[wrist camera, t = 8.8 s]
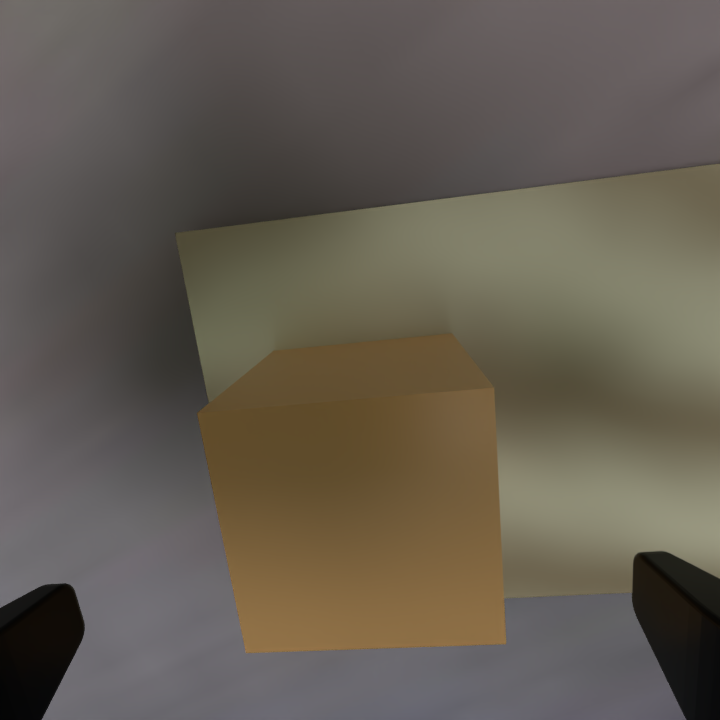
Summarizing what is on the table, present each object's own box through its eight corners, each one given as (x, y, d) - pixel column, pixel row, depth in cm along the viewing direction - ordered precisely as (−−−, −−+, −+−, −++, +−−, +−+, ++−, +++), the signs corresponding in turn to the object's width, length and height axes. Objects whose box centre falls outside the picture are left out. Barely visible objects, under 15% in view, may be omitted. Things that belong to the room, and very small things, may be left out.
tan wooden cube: (463, 498, 14) (505, 644, 9) (298, 509, 15) (245, 652, 9) (452, 333, 13) (494, 387, 8) (273, 350, 14) (196, 412, 8)
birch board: (834, 560, 15) (865, 582, 14) (258, 589, 17) (249, 609, 16) (893, 145, 12) (936, 136, 11) (190, 234, 14) (174, 232, 13)
